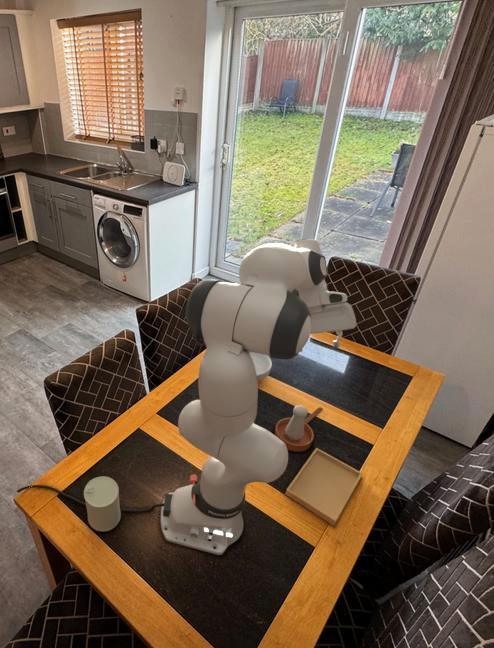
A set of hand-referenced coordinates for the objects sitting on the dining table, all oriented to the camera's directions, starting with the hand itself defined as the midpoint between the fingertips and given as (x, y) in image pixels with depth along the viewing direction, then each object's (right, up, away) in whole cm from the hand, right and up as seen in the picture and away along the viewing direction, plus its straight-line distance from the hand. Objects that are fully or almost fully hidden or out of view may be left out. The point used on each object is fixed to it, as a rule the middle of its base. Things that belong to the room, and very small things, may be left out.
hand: (317, 349), depth 111 cm
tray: (+5, -41, +8) cm, 42 cm away
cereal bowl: (-7, -12, +49) cm, 51 cm away
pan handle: (+10, -24, +28) cm, 38 cm away
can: (-59, -46, +1) cm, 75 cm away
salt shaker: (+2, -30, +23) cm, 38 cm away
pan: (+2, -30, +23) cm, 38 cm away
